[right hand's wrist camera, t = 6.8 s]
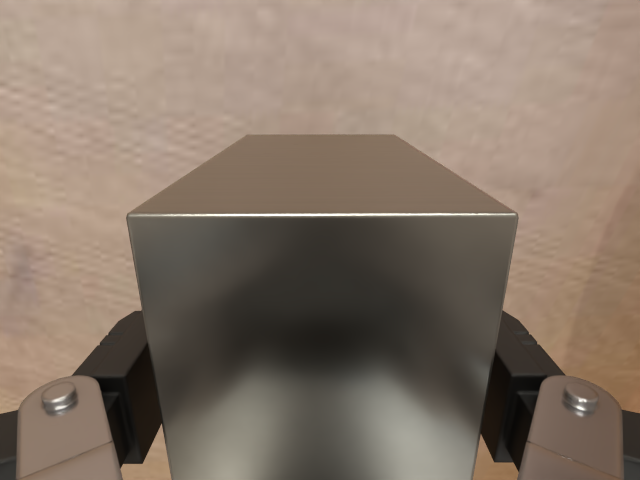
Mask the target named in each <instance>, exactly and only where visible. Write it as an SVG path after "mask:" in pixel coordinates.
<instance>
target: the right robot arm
mask: <svg viewBox="0 0 640 480" xmlns="http://www.w3.org/2000/svg"><path fill="white" fill-rule="evenodd" d="M161 424H162V421H161V415H160V409H159V403H158V398H157V392H156V386H155V380H154V375H153V369H152V363H151V357H150V352H149V346H148V340H147V334H146V329H145V323H144V317H143V311H134V312H133V313H131V314H129V315H128V316H126V317H125V318H123V319H121V320H120V321H118V323H117V324H116V325H115V326H114V327H113V328H112V330H111V331H110V332H109V334H108V335H106V336H105V338H104V339H103V340H102V341H101V342H100V345H98V346H97V347H96V348H95V349H94V350H93V352H92V353H91V354H90V355H89V356H88V357H87V359H86V360H85V361H84V362H83V363H82V364H81V365H80V367H79V368H78V369H77V370H76V371H75V372H74V374H73V375H72V376H68V377H64V378H60V379H57V380H54V381H51V382H49V383H47V384H45V385H43V386H41V387H39V388H38V389H36V390H35V391H33V392H32V393H31V394H29V395H28V396H27V397H26V398H25V399H24V400H23V402H22V403H21V405H20V407H19V409H18V410H16V411H12V412H7V413H3V414H0V480H123V478H122V474H121V470H120V469H121V467H122V465H123V464H143V462H144V460H145V457H146V455H147V453H148V451H149V449H150V447H151V445H152V443H153V440H154V438H155V436H156V434H157V432H158V430H159V428H160V426H161ZM481 435H482V437H483V439H484V441H485V443H486V445H487V447H488V450H489V452H490V454H491V456H492V458H493V460H494V462H514V464H515V466H516V468H517V470H518V472H519V474H518V478H517V480H640V413H635V412H630V411H626V410H622V409H621V407H620V405H619V403H618V402H617V400H616V399H615V398H614V397H613V396H612V395H611V394H609V393H608V392H607V391H605V390H604V389H602V388H601V387H599V386H597V385H595V384H593V383H591V382H589V381H586V380H583V379H580V378H576V377H572V376H566V375H565V374H564V373H563V372H562V371H561V369H560V368H559V367H558V366H557V365H556V364H555V362H554V361H553V360H552V359H551V358H550V357H549V355H548V354H547V353H546V352H545V351H544V350H543V348H542V347H541V346H540V345H537V341H536V340H535V339H534V338H533V337H532V335H529V332H528V331H527V330H526V328H525V327H524V326H523V325H522V324H521V323H520V321H519V320H517V319H516V318H514V317H512V316H511V315H509V314H508V313H506V312H504V311H503V310H502V315H501V320H500V326H499V332H498V338H497V343H496V349H495V355H494V360H493V366H492V372H491V377H490V383H489V389H488V395H487V400H486V406H485V412H484V417H483V423H482V429H481Z"/></svg>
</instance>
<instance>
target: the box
mask: <svg viewBox="0 0 640 480" xmlns="http://www.w3.org/2000/svg"><path fill="white" fill-rule="evenodd" d="M126 219H127V225H128V231H129V236H130V242H131V248H132V254H133V259H134V265H135V271H136V277H137V282H138V288H139V294H140V300H141V306H142V311H143V317H144V323H145V329H146V334H147V340H148V346H149V352H150V357H151V363H152V369H153V375H154V380H155V386H156V392H157V398H158V403H159V409H160V415H161V421H162V427H163V432H164V438H165V444H166V450H167V455H168V461H169V467H170V473H171V478H172V480H473V474H474V469H475V463H476V457H477V452H478V446H479V440H480V435H481V429H482V423H483V417H484V412H485V406H486V400H487V395H488V389H489V383H490V377H491V372H492V366H493V360H494V355H495V349H496V343H497V338H498V332H499V326H500V320H501V315H502V309H503V303H504V298H505V292H506V286H507V281H508V275H509V269H510V263H511V258H512V252H513V246H514V241H515V235H516V229H517V224H518V214H517V213H516V212H515V211H513V210H512V209H510V208H509V207H507V206H505V205H504V204H502V203H501V202H499V201H498V200H496V199H494V198H493V197H491V196H490V195H488V194H487V193H485V192H483V191H482V190H480V189H479V188H477V187H476V186H474V185H473V184H471V183H469V182H468V181H466V180H465V179H463V178H462V177H460V176H458V175H457V174H455V173H454V172H452V171H451V170H449V169H447V168H446V167H444V166H443V165H441V164H440V163H438V162H437V161H435V160H433V159H432V158H430V157H429V156H427V155H426V154H424V153H422V152H421V151H419V150H418V149H416V148H415V147H413V146H412V145H410V144H408V143H407V142H405V141H404V140H402V139H401V138H399V137H397V136H396V135H246V136H245V137H243V138H241V139H240V140H238V141H237V142H235V143H234V144H232V145H231V146H229V147H228V148H226V149H225V150H223V151H222V152H220V153H219V154H217V155H216V156H214V157H213V158H211V159H210V160H208V161H207V162H205V163H204V164H202V165H201V166H199V167H197V168H196V169H194V170H193V171H191V172H190V173H188V174H187V175H185V176H184V177H182V178H181V179H179V180H178V181H176V182H175V183H173V184H172V185H170V186H169V187H167V188H166V189H164V190H163V191H161V192H160V193H158V194H157V195H155V196H153V197H152V198H150V199H149V200H147V201H146V202H144V203H143V204H141V205H140V206H138V207H137V208H135V209H134V210H132V211H131V212H129V213H128V214H127V217H126Z"/></svg>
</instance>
